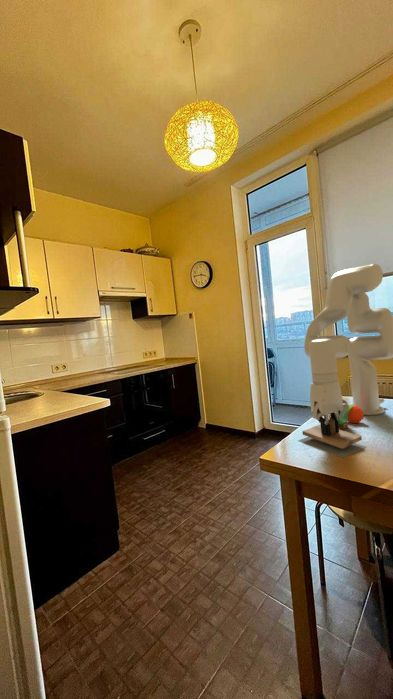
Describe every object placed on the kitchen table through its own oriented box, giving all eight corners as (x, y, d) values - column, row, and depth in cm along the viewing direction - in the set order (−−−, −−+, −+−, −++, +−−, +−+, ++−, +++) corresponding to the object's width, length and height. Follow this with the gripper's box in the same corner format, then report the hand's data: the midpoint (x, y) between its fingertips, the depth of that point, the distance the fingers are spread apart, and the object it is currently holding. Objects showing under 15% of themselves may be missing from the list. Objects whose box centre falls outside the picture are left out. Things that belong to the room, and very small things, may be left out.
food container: (349, 436, 99) (347, 407, 99) (330, 434, 102) (328, 406, 102) (352, 424, 110) (350, 398, 109) (334, 422, 113) (332, 397, 112)
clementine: (359, 427, 105) (357, 408, 105) (339, 424, 110) (337, 406, 110) (366, 421, 110) (365, 403, 110) (347, 418, 116) (346, 401, 115)
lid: (320, 427, 102) (319, 411, 102) (361, 439, 89) (360, 421, 88) (302, 434, 98) (300, 418, 98) (342, 448, 85) (340, 430, 84)
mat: (320, 434, 103) (320, 432, 103) (366, 449, 88) (366, 446, 88) (297, 442, 98) (297, 440, 98) (343, 460, 83) (342, 457, 83)
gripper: (332, 371, 99) (337, 423, 100) (297, 381, 92) (303, 437, 93) (352, 373, 92) (357, 429, 94) (316, 384, 85) (322, 444, 86)
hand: (330, 432), depth 93 cm, fingers closed on lid, 3 cm apart
